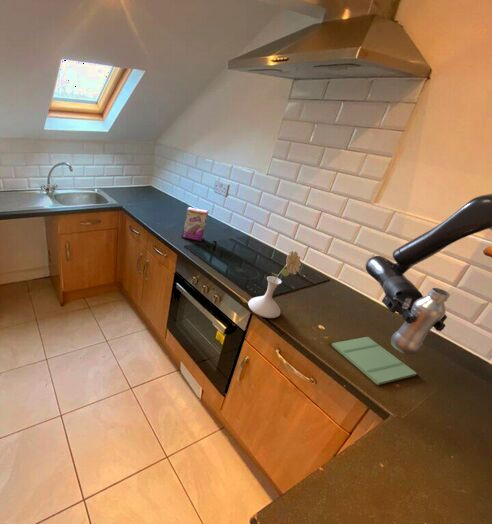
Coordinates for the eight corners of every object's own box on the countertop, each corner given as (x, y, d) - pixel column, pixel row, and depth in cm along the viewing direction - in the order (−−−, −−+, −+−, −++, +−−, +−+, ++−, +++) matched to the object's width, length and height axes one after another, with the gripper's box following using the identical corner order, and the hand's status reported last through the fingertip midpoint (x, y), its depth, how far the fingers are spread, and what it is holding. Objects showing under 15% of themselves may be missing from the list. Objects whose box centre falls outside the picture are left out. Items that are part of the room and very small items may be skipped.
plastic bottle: (392, 353, 84) (432, 295, 74) (384, 338, 90) (420, 282, 80) (419, 360, 82) (464, 302, 73) (408, 344, 88) (449, 288, 78)
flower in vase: (257, 322, 105) (279, 259, 93) (241, 302, 114) (260, 243, 103) (289, 320, 107) (315, 259, 96) (271, 301, 117) (293, 243, 105)
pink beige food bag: (181, 237, 165) (186, 209, 157) (183, 234, 169) (188, 206, 162) (201, 241, 163) (208, 213, 155) (202, 238, 167) (208, 210, 159)
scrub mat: (366, 338, 103) (367, 336, 102) (415, 375, 89) (417, 373, 89) (331, 345, 98) (332, 342, 97) (377, 385, 85) (379, 382, 84)
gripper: (380, 276, 93) (402, 305, 79) (435, 288, 89) (468, 321, 75) (369, 295, 96) (387, 327, 82) (421, 308, 93) (450, 343, 79)
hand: (426, 324), depth 79 cm, fingers closed on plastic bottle, 6 cm apart
